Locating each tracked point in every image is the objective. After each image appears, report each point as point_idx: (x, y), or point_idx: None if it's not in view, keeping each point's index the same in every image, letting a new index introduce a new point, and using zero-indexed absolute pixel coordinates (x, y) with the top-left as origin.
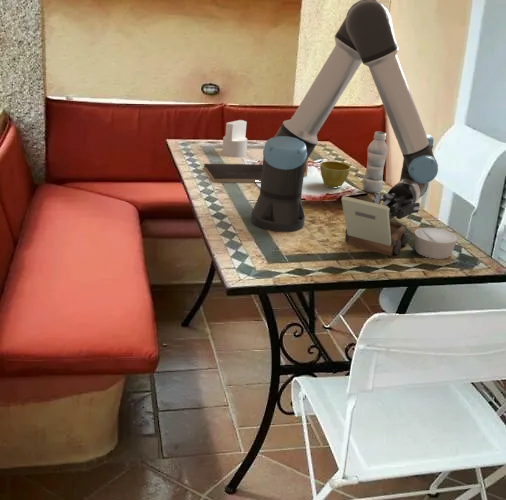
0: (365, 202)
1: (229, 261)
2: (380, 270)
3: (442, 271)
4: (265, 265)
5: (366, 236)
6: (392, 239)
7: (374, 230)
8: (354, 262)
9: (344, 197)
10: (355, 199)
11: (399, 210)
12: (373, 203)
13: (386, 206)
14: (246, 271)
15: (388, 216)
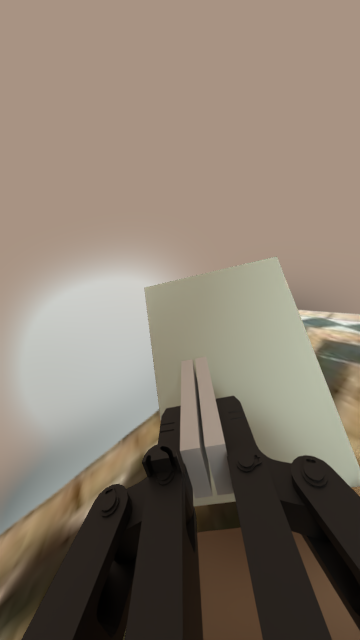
0: (206, 275)
1: (353, 319)
2: None
3: (6, 564)
4: (319, 335)
5: None
6: None
7: None
8: None
9: (268, 260)
10: (236, 267)
11: (116, 485)
12: (184, 279)
13: (149, 287)
14: (311, 321)
15: (150, 327)
